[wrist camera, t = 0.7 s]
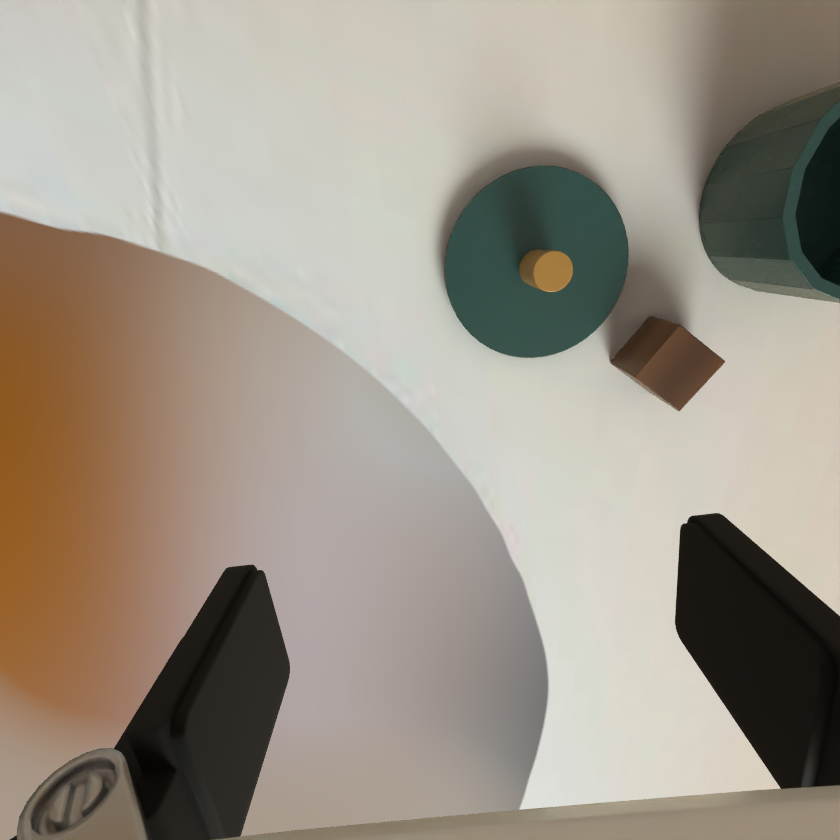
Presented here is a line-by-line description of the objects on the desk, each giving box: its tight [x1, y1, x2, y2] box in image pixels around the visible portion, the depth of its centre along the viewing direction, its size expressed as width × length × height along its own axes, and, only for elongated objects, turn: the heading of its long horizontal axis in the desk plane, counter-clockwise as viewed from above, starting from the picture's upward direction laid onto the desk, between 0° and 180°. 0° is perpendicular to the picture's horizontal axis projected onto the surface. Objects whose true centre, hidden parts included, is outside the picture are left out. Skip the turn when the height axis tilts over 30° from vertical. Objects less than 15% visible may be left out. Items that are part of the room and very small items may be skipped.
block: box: [611, 316, 725, 411], centre depth 40 cm, size 5×5×5 cm
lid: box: [445, 166, 628, 358], centre depth 37 cm, size 15×15×6 cm
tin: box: [699, 82, 840, 303], centre depth 34 cm, size 14×14×10 cm
